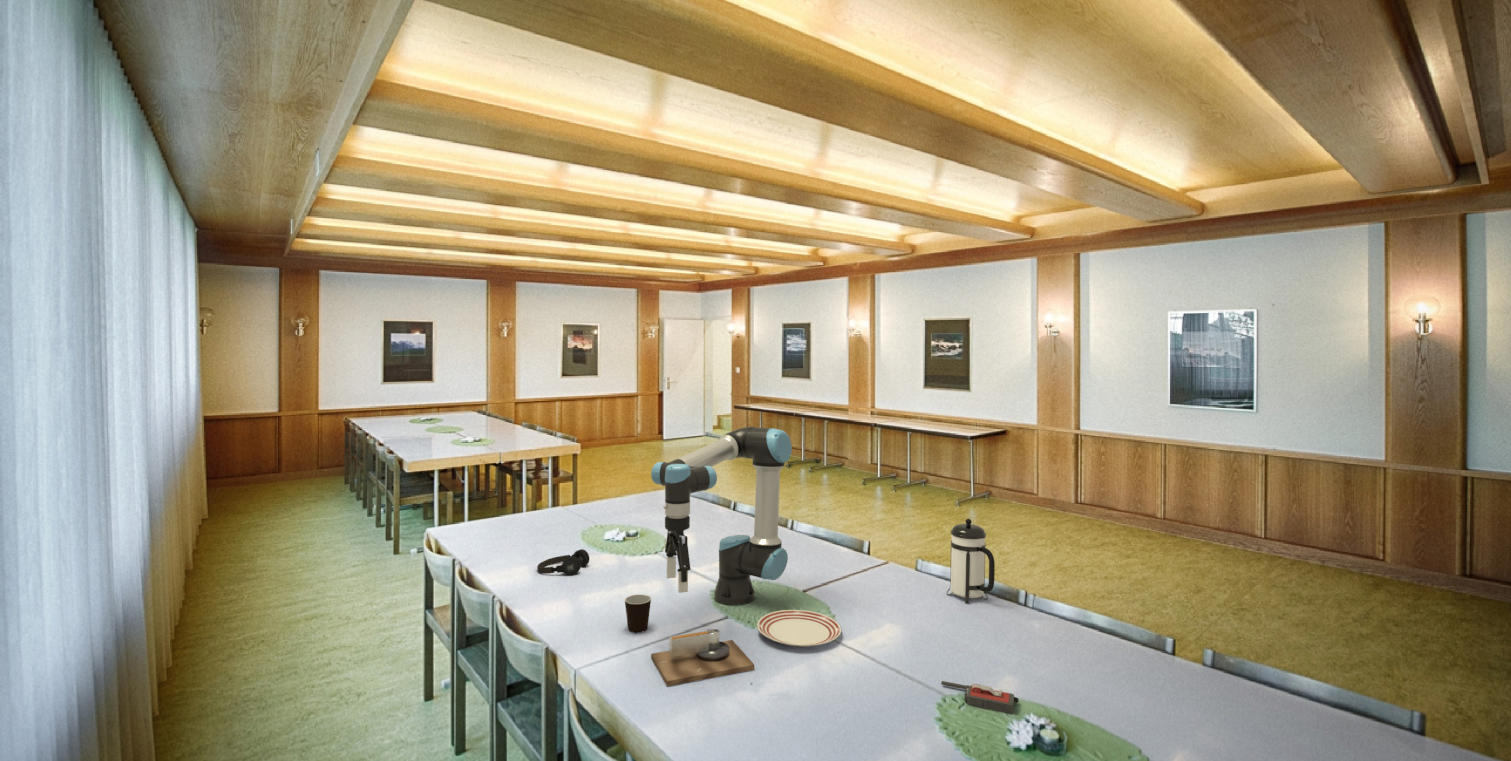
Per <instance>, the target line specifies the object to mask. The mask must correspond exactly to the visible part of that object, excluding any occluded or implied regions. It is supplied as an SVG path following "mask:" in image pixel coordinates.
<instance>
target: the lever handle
mask: <svg viewBox="0 0 1511 761" xmlns="http://www.w3.org/2000/svg"><path fill="white" fill-rule="evenodd" d="M668 651H669V654H670V655H671V657H675V656H681V655H687V654H692V653H696V656H697V657H698V658H700V659H703V660H708V661H715V660H721V659H724V658H726V657H727V656H728V655H729V646H728V645H727V644H726V643H724V642H722V641H720V630H719V629H716V628H709V629H706V630H705V631H698V632H697V631H696V632H692V633H685V634H684V633H683V634H679V635H674V636H669V650H668Z"/></svg>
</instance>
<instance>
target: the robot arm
mask: <svg viewBox="0 0 1511 761" xmlns="http://www.w3.org/2000/svg"><path fill="white" fill-rule="evenodd" d="M792 447H793V446H792V442H791V437H790V436H789V435H788V434H787V432H786V431H784V430H782V429H777V428H773V427H771V428H770V427H769V428H768V427H756V426H746V427H741V428H738V429H735V430H732V431H729V432H727V433H725V434H722V435H720V437H718V439H717V440H715V441H713V442H710V443H709V444H707V445H705V446H703V447H700V448H698V449H695V450H694V451H691V452H689V453H687V454H685V455H682V456H680V457H678V458H676V459H673V460H672V461H669V462H666V461H658V462H656V463H655V464H653V466H652V468H651V470H650V475H651V476H650V477H651V480H652V482H653V483H654V484H656V485H660V486H662V487H664V497H665V499H664V501H665V502H664V504H665V505H663V507H662V508H663V509H664V514H665V517H664V528H665V529H666V530H667V533H666V534H667V535H666V541H665V548H664V552H665V554H666V579H674V578H676V576H678V577H677V579H678V583H677V588H678V589H677V592H678V594H682V593H688V591H689V581H688V580H689V571H691V562H690V556H689V547H688V546H689V544H688V539H689V538H688V536H687V535H685V532H684V531H686V530H689V528H690V526H691V523H690V521H691V520H690V519H691V517H690V514H691V494H694V493H699V492H703V491H708V490H710V489H713V488H714V487H715V486H716V484H717V481H718V475H717V471H716V469H715V468H713V467H714V466H716V465H718V464H721V463H722V462H724V461H726V460H728V461H732V460H735V459H737V458H738V459H740V458H744V459H752V467H753V468H754V469H755V471H756V474H755V475H756V476H755V478H756V479H755V503H754V505H755V506H754V527H753V528H754V529H753V536H752V537H750V535H747V534H736V535H735V534H733V535H729V536H724V537H723V538H721V539H720V541H719V547H718V580H717V582H716V585H715V589H714V591H713V592H714V593H713V595H714V597H713V598H714V601H716V602H717V603H719V604H723V605H727V604H729V605H728V606H739V605H738V604H741V605H746V604H749V603H751V602H753V601H754V600H755V589H754V585H753V583H752V580H751V576H753V577H756V578H760V579H762V580H769V581H776V580H777V579H779V578H780V577H781V576H782V575H783V574H784V571H785V570H786V568H787V564H788V559H789V556H788V552H787V550H786V549H785V548H783V547H782V542H783V541H782V539H780V538H779V509H780V507H779V506H780V505H779V504H780V482H781V480H780V479H781V478H780V477H781V470H782V469H784V468H785V463H787V462H788V461H789V460H790V458H791V455H792V453H793V452H792V450H793V448H792ZM677 562H678V563H677ZM677 564H678V568H676V567H677V566H676V565H677ZM676 569H677V570H676ZM677 572H678V575H677ZM745 603H746V604H745ZM730 604H731V605H730Z"/></svg>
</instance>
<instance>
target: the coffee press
mask: <svg viewBox="0 0 1511 761" xmlns="http://www.w3.org/2000/svg"><path fill="white" fill-rule="evenodd" d="M964 522H965V523H960V524H959V523H958V524H956V525H954V526H953V527H952V529H951V530H950V534H951V540H950V569H949V570H950V573H949V574H950V575H949V577H950V578H949V580H950V581H949V583H950V584H949V585H950V587H949V588H948V589H947V591H946V595H947V596H951V595H956V596H958V597H961V598H964V601H965V602H964V603H965V604H970V599H977V598H980V597H981V598H983V599H984V600H985V601H987V600H988V599H989V597H988V594H987V593H989V592H991V591H993V589H994V586H995V574H996V573H995V565H996V564H995V558H994V555H993V553H992V551H991V550H990V549H988V548H986V545H987V544H986V537H987V532H986V531H985V529H984V528H983V527H981V526H979V525H976V524H972V523H973V522H972V520H971V518H966V520H965V521H964ZM986 556H987V558H988V584H987V586H985V584H986V583H985V582H986V569H985V564H986ZM949 591H951V592H950V593H949ZM984 594H985V596H986V597H984V596H983V595H984Z"/></svg>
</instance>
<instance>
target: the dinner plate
mask: <svg viewBox="0 0 1511 761" xmlns="http://www.w3.org/2000/svg"><path fill="white" fill-rule="evenodd" d="M756 628H757V629H758V631H759V632H760V634H762V635H763V636H764V637H765V638H767V639H768V640H771V641H773V642H776V643H779V644H781V645H786V646H790V647H796V648H798V647H800V648H804V647H815V646H820V645H824V644H827V643H831V642H833V641H835V640H837V639H838V638H839V637H840V635H841V633H842V627H841V626H840V623H838V622H837V621H836V620H835V619H834V618H832V617H830V616H829V615H826V614H823V613H819V612H817V611H816V612H815V611H811V610H810V611H809V610H803V609H786V610H785V609H782V610H777V611H772V612H769V613H767V614H765V615H763V616H762V617H760V619H759V620H758V621H757V624H756Z"/></svg>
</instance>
